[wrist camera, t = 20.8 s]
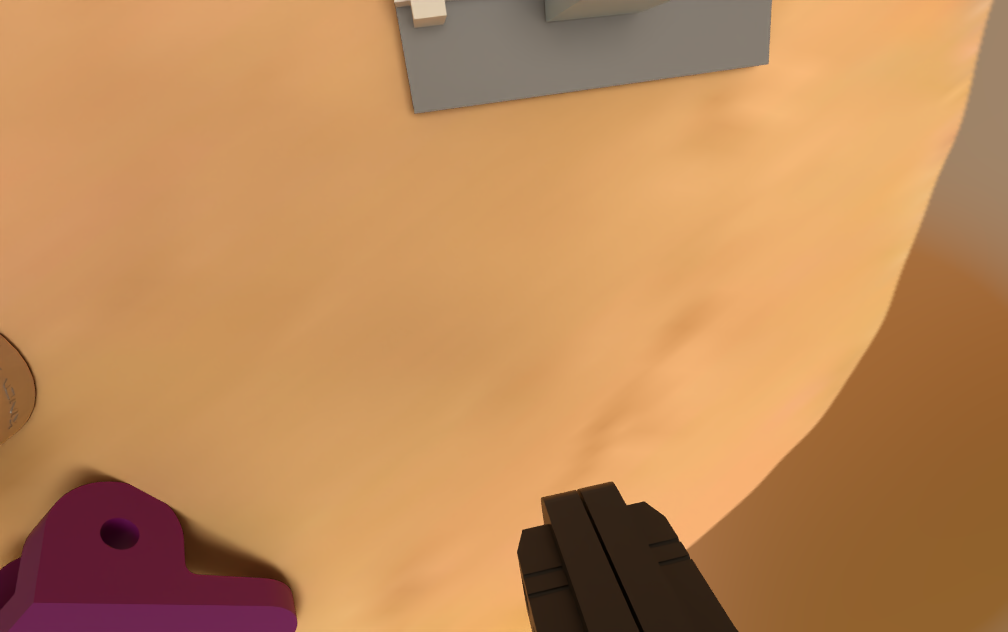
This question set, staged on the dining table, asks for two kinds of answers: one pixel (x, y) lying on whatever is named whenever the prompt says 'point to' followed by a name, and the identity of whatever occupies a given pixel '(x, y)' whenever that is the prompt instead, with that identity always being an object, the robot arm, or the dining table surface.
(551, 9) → the plate
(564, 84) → the mounting board
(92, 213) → the dining table surface
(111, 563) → the mounting bracket
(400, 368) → the dining table surface
